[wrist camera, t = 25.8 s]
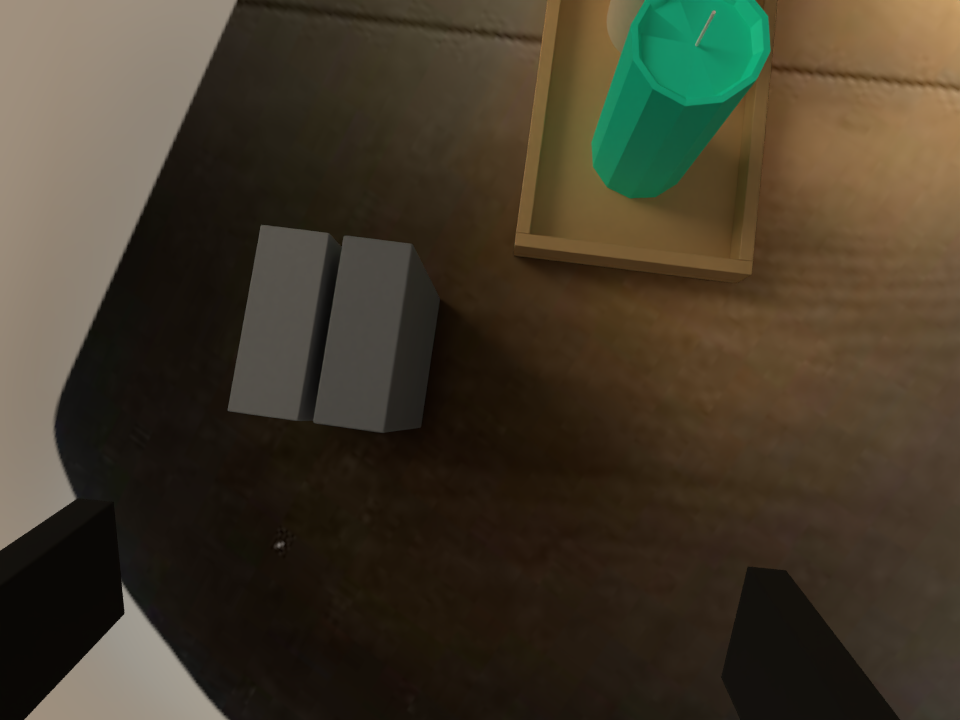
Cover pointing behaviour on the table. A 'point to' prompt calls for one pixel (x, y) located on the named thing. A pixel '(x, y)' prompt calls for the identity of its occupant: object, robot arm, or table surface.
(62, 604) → the robot arm
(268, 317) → the grey book
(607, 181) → the candle
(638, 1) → the cream candle
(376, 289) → the grey book
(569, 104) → the tray
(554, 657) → the table surface
